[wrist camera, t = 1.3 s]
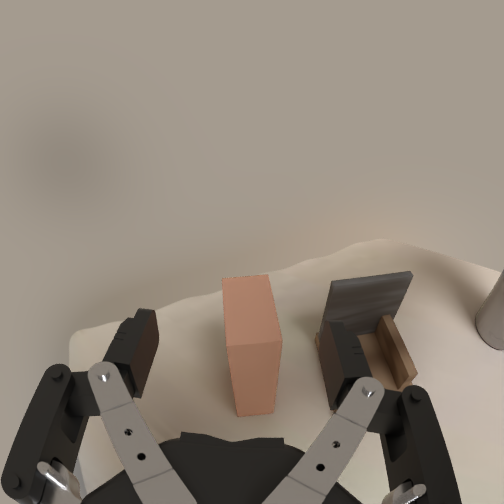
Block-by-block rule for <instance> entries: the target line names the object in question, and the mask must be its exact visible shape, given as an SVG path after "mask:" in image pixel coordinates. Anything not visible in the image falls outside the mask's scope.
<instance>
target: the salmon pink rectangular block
mask: <svg viewBox="0 0 504 504" xmlns="http://www.w3.org/2000/svg"><path fill="white" fill-rule="evenodd" d="M222 289H223V305H224V320H225V335H226V347H227V354H228V361H229V367H230V373H231V380H232V386H233V392H234V398H235V404H236V410H237V415H238V417H241V416H252V415H261V414H270V413H273V412H274V405H275V397H276V390H277V382H278V374H279V366H280V358H281V349H282V336H281V331H280V327H279V322H278V318H277V313H276V308H275V304H274V299H273V295H272V290H271V286H270V281H269V277H268V274H267V275H256V276H245V277H234V278H222Z"/></svg>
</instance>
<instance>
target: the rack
mask: <svg viewBox="0 0 504 504" xmlns="http://www.w3.org/2000/svg"><path fill="white" fill-rule="evenodd" d="M412 277H413V274H412V273H411V271H406V272H399V273H392V274H384V275H376V276H369V277H361V278H352V279H344V280H336V281H331V286H330V290H329V294H328V299H327V303H326V307H325V311H324V315H323V319H322V323H321V327H320V331H319V333H316V337H315V342H316V345H317V348H318V352H319V344H320V340H321V337H322V333H323V329H324V326H325V322H326V321H327V320H337V321H343V323H344V326H345V329H346V331H352V332H353V333H354V334H355V335H356V336H357V337H358V338H359V340H360V343H361V346H362V348H363V351H364V354H365V357H366V359H367V362H368V365H369V368H370V370H371V373H372V376H373V378H375V379H377V380H378V381H379V382H380V383H381V384H382V385H383V387H384V388H385V389H388V390H394V391H400V392H402V391H403V390H404V388H405V387H407V386H410V385H412V382H411V381H412V380H413V379H414V378H415V376H416V375H417V374H418V373H417V370H416V368H415V366H414V364H413V361H412V359H411V357H410V355H409V353H408V350H407V348H406V346H405V344H404V342H403V340H402V338H401V336H400V334H399V331H398V329H397V327H396V325H395V323H394V321H393V319H394V317H395V315H396V313H397V311H398V309H399V307H400V304H401V302H402V300H403V298H404V296H405V294H406V291H407V289H408V287H409V284H410V282H411V280H412ZM337 410H338V409H337ZM337 410H335V413H336V412H337Z"/></svg>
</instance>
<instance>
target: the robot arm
mask: <svg viewBox="0 0 504 504" xmlns="http://www.w3.org/2000/svg"><path fill="white" fill-rule="evenodd" d="M476 327H477V329H478V332H479V334H480V335H481V337H482V338H483V339H484V341H485V342H486V343H487V344H489V345H490V346H492V347H493V348H495V349H499V350H504V270H503V272H502V273H501V275H500V277H499V279H498V281H497V282H496V284H495V286H494V287H493V289H492V291H491V292H490V294H489V296H488V297H487V299H486V300H485V302H484V304H483V305H482V307H481V308H480V310H479V312H478V313H477V315H476ZM158 344H159V331H158V325H157V319H156V313H155V311H154V310H149V309H140V308H139V309H138V310H137V312H136V314H135V316H134V318H127V319H126V320H125V321H124V322H122V323H121V324H120V326H119V328H118V330H117V333H116V334H115V336H114V339H113V340H112V342H111V344H110V346H109V348H108V350H107V352H106V354H105V356H104V359H103V361H102V362H99V363H96V364H94V365H93V366H92V367H91V368H90V369H89V371H85V372H71V371H70V369H69V367H67V366H66V365H64V364H55V365H52V366H51V367H49V368H48V369H47V370H46V371H45V373H44V375H43V377H42V379H41V381H40V383H39V385H38V387H37V389H36V392H35V394H34V396H33V398H32V400H31V402H30V404H29V407H28V409H27V411H26V413H25V416H24V418H23V420H22V423H21V425H20V427H19V430H18V432H17V435H16V437H15V440H14V442H13V445H12V448H11V451H10V453H9V456H8V459H7V461H6V464H5V467H4V470H3V474H2V477H1V484H2V488H3V490H4V492H5V493H6V494H7V495H8V496H9V497H11V498H12V499H14V500H16V501H17V502H19V503H20V504H362V503H361V502H360V501H359V500H357V499H356V498H355V497H354V496H353V495H352V494H350V493H349V492H348V491H347V490H346V489H345V488H344V487H342V486H341V485H340V484H339V483H338V482H337V479H338V478H339V476H340V475H341V473H342V472H343V470H344V469H345V467H346V465H347V464H348V462H349V461H350V459H351V457H352V456H353V454H354V452H355V451H356V449H357V447H358V445H359V444H360V442H361V440H362V438H363V437H364V435H365V433H366V431H368V432H374V433H379V434H380V439H381V444H382V449H383V454H384V459H385V464H386V470H387V476H388V482H389V488H390V493H388V494H387V495H386V496H385V497H384V499H383V501H382V504H462V502H461V498H460V494H459V490H458V486H457V482H456V478H455V474H454V471H453V467H452V463H451V460H450V457H449V453H448V450H447V447H446V444H445V441H444V437H443V434H442V431H441V428H440V425H439V422H438V420H437V417H436V414H435V411H434V408H433V406H432V403H431V400H430V398H429V395H428V393H427V392H426V391H425V390H424V389H423V388H422V387H420V386H417V385H410V386H407V387H405V388H404V390H403V391H402V392H400V391H394V390H388V389H385V388H384V387H383V385H382V384H381V383H380V382H379V381H378V380H377V379H375V378H373V376H372V373H371V370H370V368H369V365H368V362H367V359H366V357H365V354H364V351H363V348H362V346H361V343H360V340H359V338H358V337H357V336H356V335H355V334H354V333H353V332H352V331H346V329H345V326H344V323H343V321H337V320H327V321H326V322H325V326H324V329H323V333H322V337H321V340H320V344H319V358H320V362H321V367H322V372H323V376H324V381H325V386H326V391H327V396H328V401H329V406H330V410H337V409H338V410H337V412H336V413H334V414H333V416H332V417H331V419H330V420H329V421H328V423H327V424H326V426H325V427H324V429H323V430H322V431H321V433H320V434H319V436H318V437H317V438H316V440H315V441H314V442H313V444H312V445H311V446H310V448H309V449H308V450H307V452H306V453H305V452H303V451H301V450H300V449H297V448H295V447H293V446H289V445H285V444H284V438H254V439H249V440H243V441H237V442H229V441H226V440H222V439H219V438H215V437H212V436H209V435H205V434H196V433H187V432H181V436H180V438H176V439H171V440H168V441H165V442H162V443H160V444H157V442H156V440H155V439H154V437H153V435H152V434H151V432H150V430H149V428H148V427H147V425H146V423H145V421H144V419H143V417H142V416H141V414H140V412H139V410H138V408H137V406H136V404H135V402H134V401H133V397H136V398H141V397H142V394H143V391H144V387H145V384H146V381H147V378H148V375H149V372H150V369H151V366H152V363H153V360H154V357H155V354H156V351H157V348H158ZM89 416H101V418H102V420H103V423H104V425H105V428H106V430H107V432H108V435H109V437H110V439H111V441H112V444H113V446H114V448H115V450H116V452H117V454H118V456H119V458H120V460H121V462H122V464H123V466H124V468H125V469H124V470H123V471H121V472H120V473H118V474H117V475H116V476H114V477H113V478H111V479H110V480H109V481H107V482H106V483H104V484H103V485H101V486H100V487H98V488H97V489H95V490H94V491H92V492H91V493H89V494H88V495H87V496H86V497H85V498H84V499H83V500H82V498H81V496H80V484H79V481H78V479H77V478H76V477H75V476H74V475H73V471H74V467H75V463H76V460H77V456H78V452H79V449H80V445H81V442H82V439H83V435H84V432H85V429H86V425H87V422H88V419H89Z"/></svg>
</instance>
